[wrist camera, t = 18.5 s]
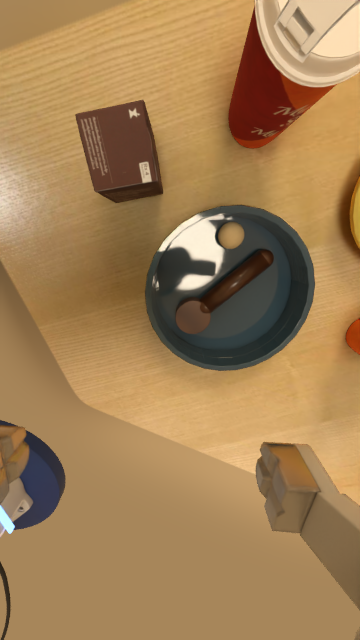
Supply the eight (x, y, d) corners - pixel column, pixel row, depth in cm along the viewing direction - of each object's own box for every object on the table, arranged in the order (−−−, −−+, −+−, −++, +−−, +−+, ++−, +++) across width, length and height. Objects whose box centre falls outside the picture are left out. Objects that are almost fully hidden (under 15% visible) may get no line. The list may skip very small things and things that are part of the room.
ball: (221, 225, 29) (236, 211, 26) (237, 242, 29) (253, 231, 27) (209, 240, 27) (223, 226, 25) (226, 257, 28) (241, 247, 25)
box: (102, 144, 26) (72, 110, 19) (154, 134, 25) (144, 96, 19) (115, 204, 28) (93, 193, 21) (164, 195, 28) (158, 181, 21)
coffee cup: (254, 177, 27) (335, 110, 13) (201, 122, 25) (227, -27, 11) (311, 108, 25) (485, -67, 10) (257, 42, 23) (380, -273, 9)
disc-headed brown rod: (257, 237, 28) (264, 237, 26) (278, 266, 30) (286, 268, 27) (168, 311, 32) (167, 317, 30) (190, 334, 33) (190, 341, 31)
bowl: (231, 374, 36) (238, 395, 31) (124, 305, 32) (114, 316, 27) (325, 272, 30) (351, 278, 26) (209, 174, 27) (215, 161, 22)
